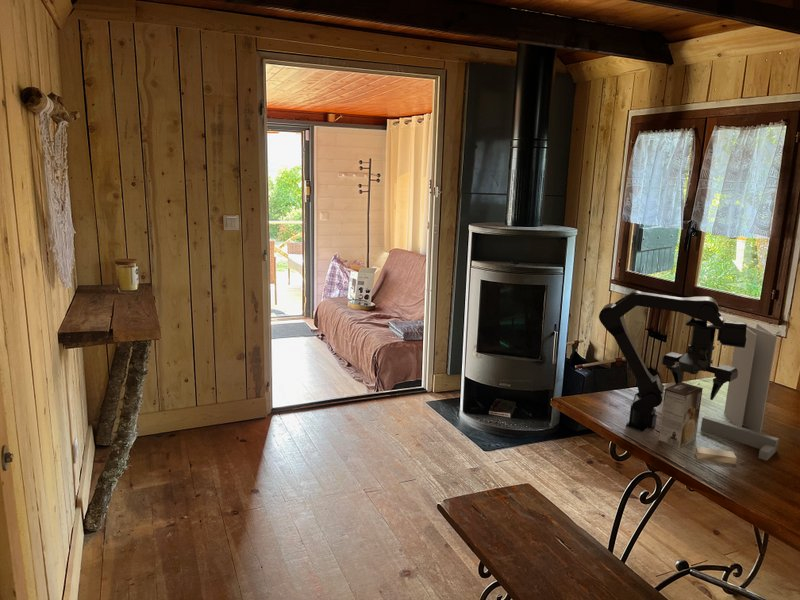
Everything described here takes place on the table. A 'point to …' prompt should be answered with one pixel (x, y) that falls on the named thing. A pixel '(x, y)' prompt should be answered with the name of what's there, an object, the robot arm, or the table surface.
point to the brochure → (751, 379)
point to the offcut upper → (715, 455)
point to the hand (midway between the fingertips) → (694, 394)
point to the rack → (742, 436)
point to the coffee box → (680, 414)
